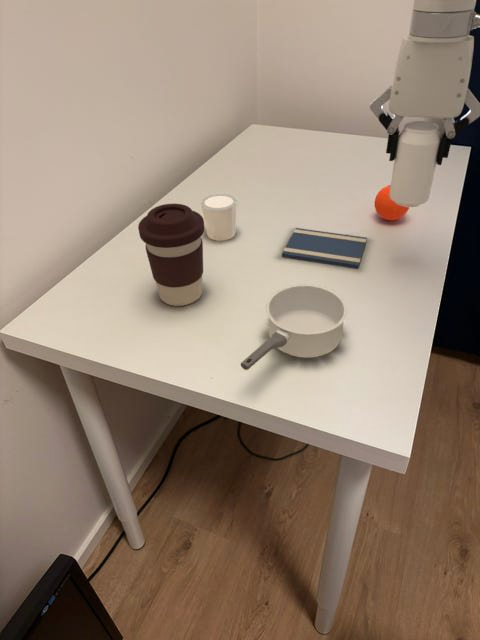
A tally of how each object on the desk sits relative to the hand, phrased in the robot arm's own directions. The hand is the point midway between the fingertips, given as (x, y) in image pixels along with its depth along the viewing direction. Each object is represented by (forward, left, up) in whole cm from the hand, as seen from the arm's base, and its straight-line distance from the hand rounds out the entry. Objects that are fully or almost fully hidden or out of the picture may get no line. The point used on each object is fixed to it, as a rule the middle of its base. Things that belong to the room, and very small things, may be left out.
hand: (415, 158), depth 75 cm
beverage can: (0, 0, -7) cm, 7 cm away
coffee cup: (+33, +20, -19) cm, 43 cm away
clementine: (+3, -17, -19) cm, 26 cm away
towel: (+13, -1, -19) cm, 23 cm away
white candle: (+34, -1, -19) cm, 39 cm away
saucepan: (+12, +29, -19) cm, 36 cm away
